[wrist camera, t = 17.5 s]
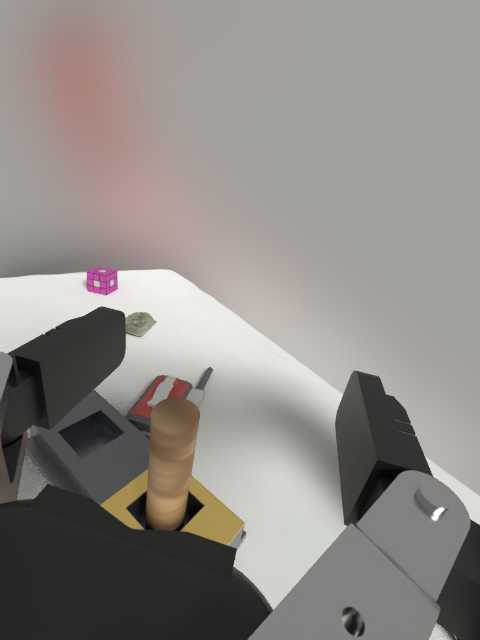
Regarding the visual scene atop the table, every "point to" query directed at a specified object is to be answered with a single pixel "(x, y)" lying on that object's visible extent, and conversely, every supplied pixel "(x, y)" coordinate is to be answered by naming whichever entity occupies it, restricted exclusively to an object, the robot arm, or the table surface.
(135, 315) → the topographic map
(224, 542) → the socket rail
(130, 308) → the table surface
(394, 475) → the robot arm
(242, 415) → the table surface
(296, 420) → the table surface
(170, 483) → the walnut peg
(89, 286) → the puzzle toy
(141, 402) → the walkie-talkie
